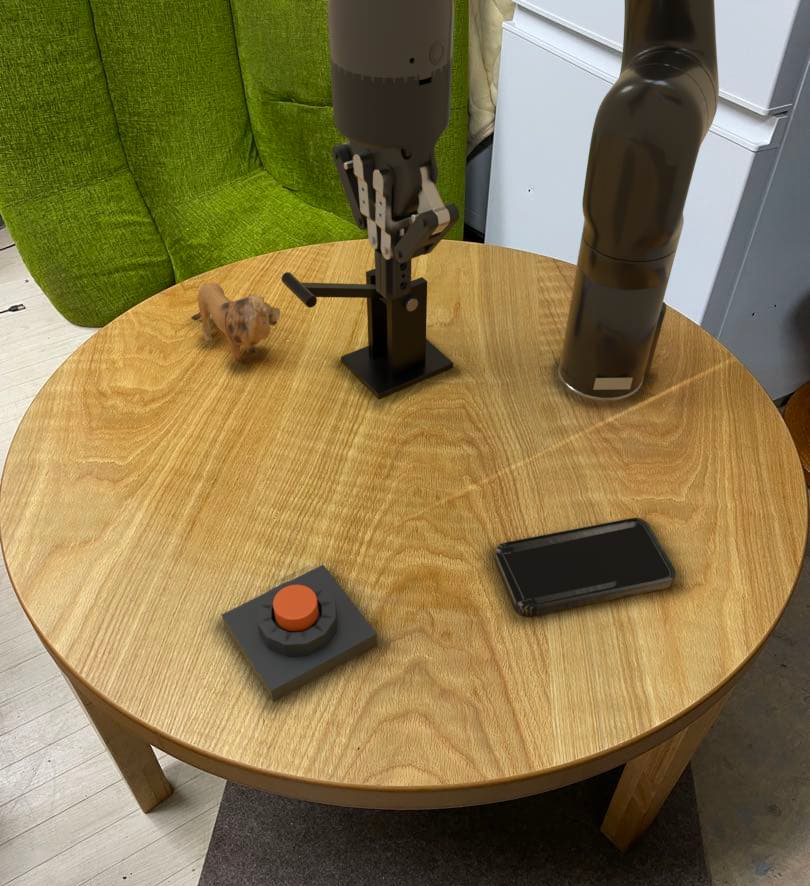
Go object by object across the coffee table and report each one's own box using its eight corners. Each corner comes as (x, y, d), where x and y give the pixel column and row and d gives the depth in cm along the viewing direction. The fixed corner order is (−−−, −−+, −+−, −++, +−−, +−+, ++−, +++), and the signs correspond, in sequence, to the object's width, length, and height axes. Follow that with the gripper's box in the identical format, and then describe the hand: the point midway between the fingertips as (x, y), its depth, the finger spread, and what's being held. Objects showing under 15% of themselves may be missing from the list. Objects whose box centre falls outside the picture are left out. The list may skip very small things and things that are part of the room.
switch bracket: (378, 403, 94) (376, 310, 85) (341, 365, 99) (334, 273, 90) (453, 371, 98) (458, 279, 89) (413, 335, 102) (414, 244, 93)
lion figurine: (292, 362, 99) (284, 294, 92) (258, 385, 96) (247, 316, 90) (208, 312, 105) (195, 245, 98) (174, 332, 103) (158, 264, 96)
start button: (305, 590, 74) (303, 577, 72) (326, 619, 72) (325, 606, 70) (267, 609, 72) (265, 596, 71) (288, 639, 70) (286, 626, 69)
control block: (324, 576, 79) (321, 551, 76) (377, 645, 74) (376, 621, 71) (224, 626, 75) (217, 601, 72) (273, 702, 70) (268, 679, 68)
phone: (492, 544, 80) (643, 515, 82) (491, 552, 80) (641, 523, 83) (520, 612, 75) (680, 579, 77) (519, 620, 75) (677, 587, 78)
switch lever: (303, 313, 82) (309, 290, 81) (278, 288, 85) (283, 265, 84) (416, 313, 91) (423, 292, 90) (390, 291, 94) (397, 270, 92)
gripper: (285, 26, 55) (307, 268, 68) (399, 100, 48) (400, 355, 61) (384, 3, 58) (387, 240, 71) (506, 70, 51) (485, 320, 64)
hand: (393, 293), depth 66 cm, fingers closed
